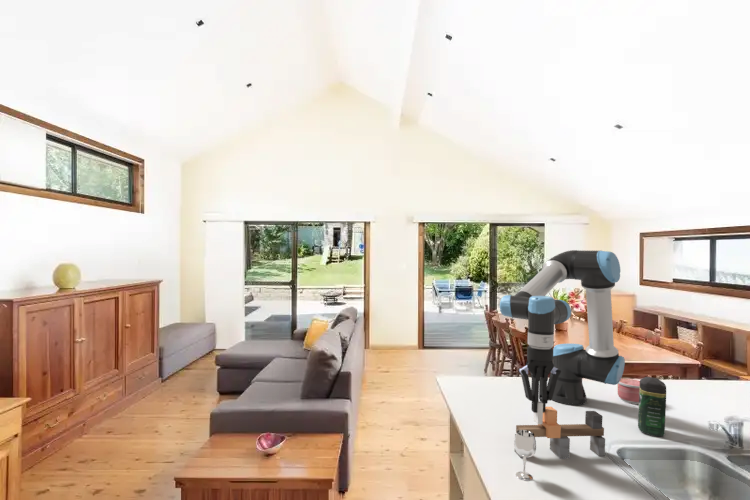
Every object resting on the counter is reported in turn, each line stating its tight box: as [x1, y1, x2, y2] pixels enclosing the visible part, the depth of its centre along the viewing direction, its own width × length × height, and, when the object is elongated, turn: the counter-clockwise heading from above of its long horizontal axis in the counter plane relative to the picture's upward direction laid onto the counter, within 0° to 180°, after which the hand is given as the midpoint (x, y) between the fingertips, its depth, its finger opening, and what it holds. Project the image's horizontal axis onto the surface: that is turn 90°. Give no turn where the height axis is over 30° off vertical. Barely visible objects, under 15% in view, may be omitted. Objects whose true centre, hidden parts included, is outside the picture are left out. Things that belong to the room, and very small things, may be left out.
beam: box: [514, 410, 606, 459], centre depth 131 cm, size 6×27×12 cm, turn 96°
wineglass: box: [513, 430, 537, 482], centre depth 117 cm, size 6×6×12 cm
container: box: [617, 377, 640, 405], centre depth 179 cm, size 10×10×8 cm
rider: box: [537, 406, 561, 439], centre depth 130 cm, size 6×4×8 cm, turn 6°
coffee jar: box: [637, 376, 667, 437], centre depth 149 cm, size 10×8×19 cm
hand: (538, 422), depth 130 cm, fingers closed
